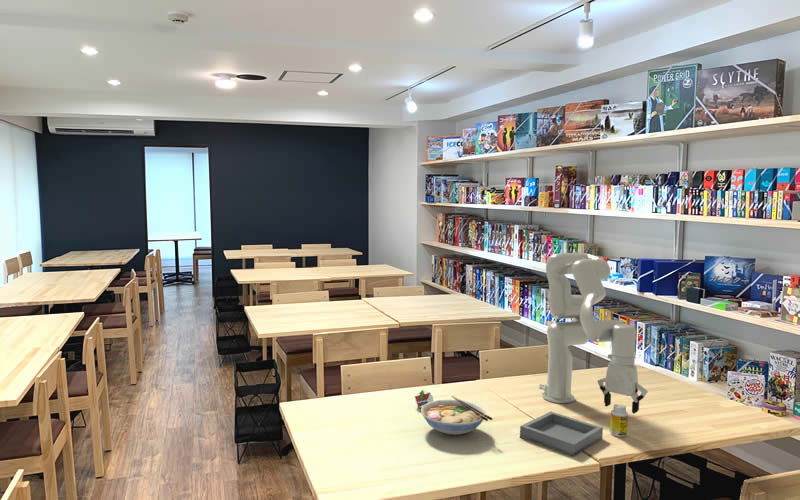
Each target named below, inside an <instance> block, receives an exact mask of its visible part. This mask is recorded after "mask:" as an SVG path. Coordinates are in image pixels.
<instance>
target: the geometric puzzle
mask: <svg viewBox="0 0 800 500" xmlns="http://www.w3.org/2000/svg"><path fill="white" fill-rule="evenodd" d="M414 399H415V403H416V405H417V408H419V407H420V408H422V406H423V405H425V404H427V403H428V402H432V401H434V397H433V395H432V393H431V392H426V390H424V389H422V390H421V391H419V392H418V393H417V394H416V395H415V396H414Z"/></svg>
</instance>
